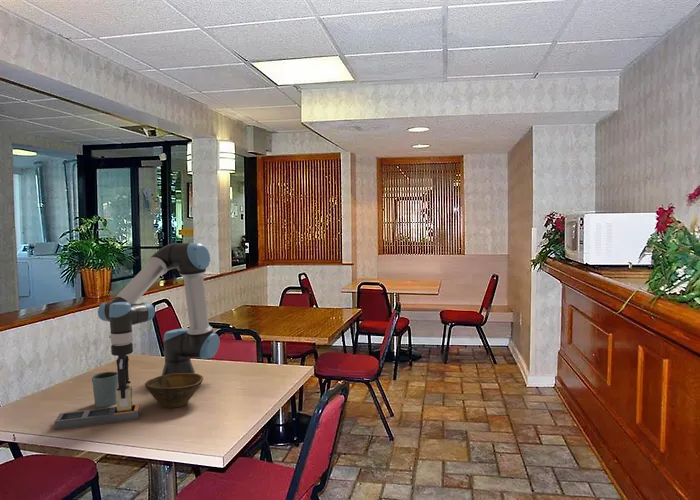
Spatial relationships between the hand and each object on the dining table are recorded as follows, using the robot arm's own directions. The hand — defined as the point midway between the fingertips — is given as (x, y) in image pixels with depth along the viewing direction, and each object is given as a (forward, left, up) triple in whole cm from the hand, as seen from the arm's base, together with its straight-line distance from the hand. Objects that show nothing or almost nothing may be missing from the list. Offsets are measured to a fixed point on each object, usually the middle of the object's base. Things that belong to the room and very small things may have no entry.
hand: (124, 403), depth 202 cm
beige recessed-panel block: (0, 0, -4) cm, 4 cm away
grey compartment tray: (+9, 0, -5) cm, 10 cm away
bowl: (-18, -9, -5) cm, 21 cm away
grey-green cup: (+9, -20, -5) cm, 23 cm away
